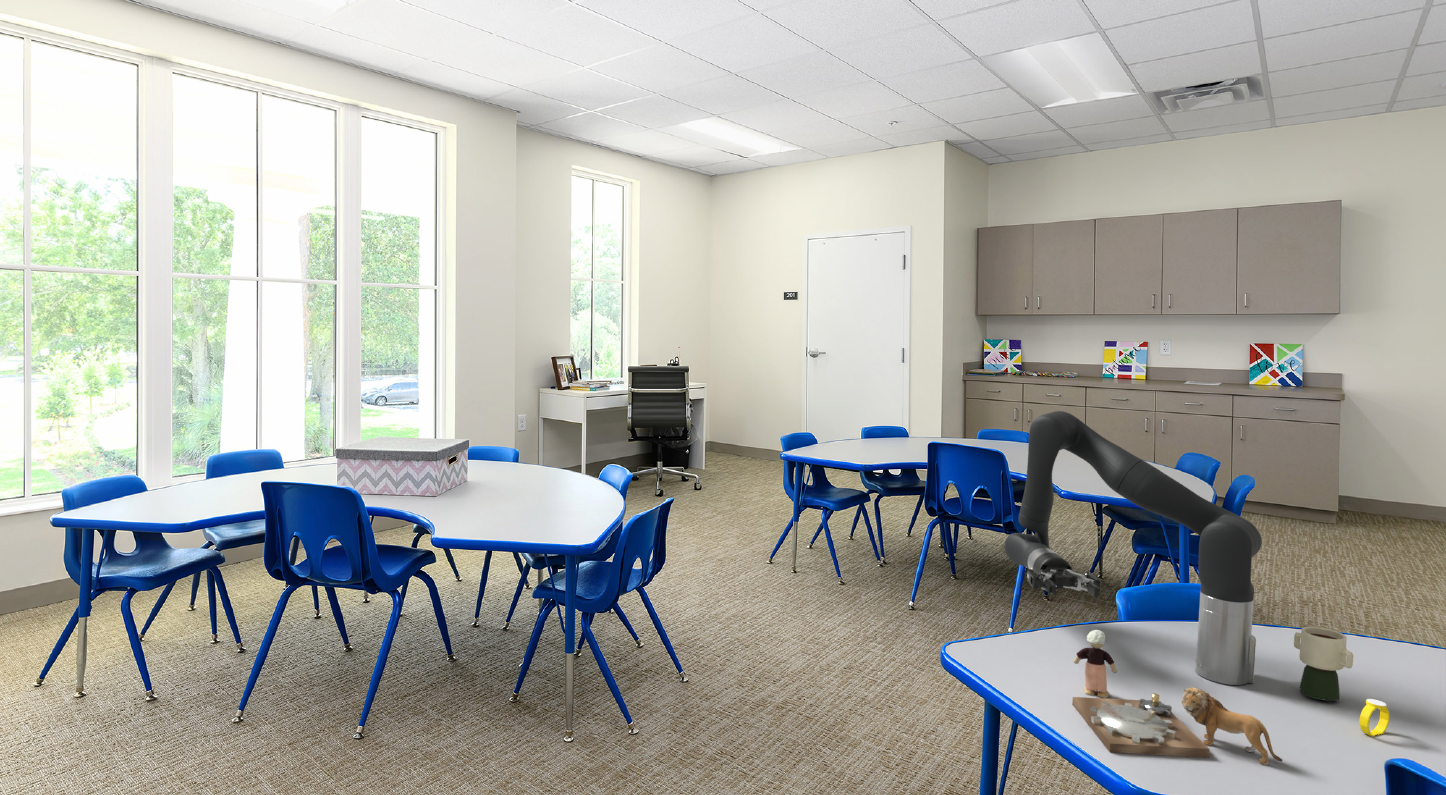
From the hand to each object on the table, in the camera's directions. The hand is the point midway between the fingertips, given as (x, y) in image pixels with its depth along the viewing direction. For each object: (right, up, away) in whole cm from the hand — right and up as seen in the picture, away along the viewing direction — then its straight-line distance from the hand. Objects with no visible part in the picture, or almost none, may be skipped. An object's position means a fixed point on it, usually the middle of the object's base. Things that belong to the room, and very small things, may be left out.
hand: (1075, 591), depth 161 cm
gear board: (0, -19, -24) cm, 30 cm away
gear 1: (-2, -17, -25) cm, 31 cm away
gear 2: (+5, -17, -20) cm, 27 cm away
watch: (+42, -19, -24) cm, 52 cm away
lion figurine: (+12, -19, -30) cm, 38 cm away
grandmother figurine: (-1, -18, -10) cm, 20 cm away
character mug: (+43, -18, -11) cm, 48 cm away
